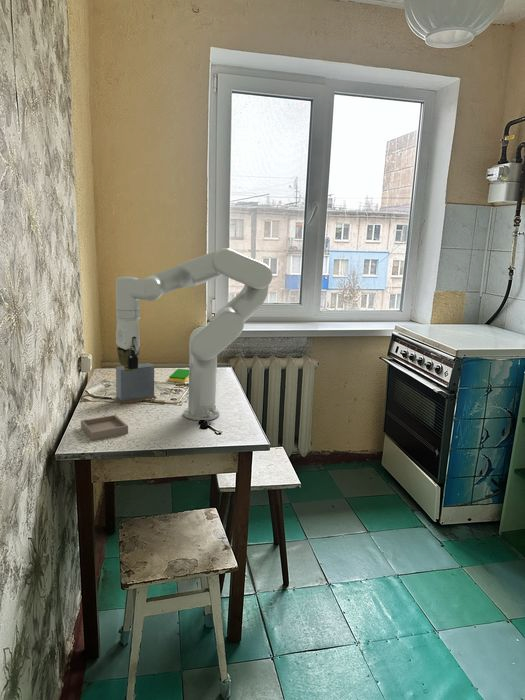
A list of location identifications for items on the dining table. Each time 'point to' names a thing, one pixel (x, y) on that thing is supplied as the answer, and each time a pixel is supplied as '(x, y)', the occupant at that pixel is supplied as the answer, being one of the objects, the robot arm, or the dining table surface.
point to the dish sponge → (179, 375)
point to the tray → (104, 427)
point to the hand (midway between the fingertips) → (128, 365)
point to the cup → (124, 357)
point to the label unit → (135, 384)
